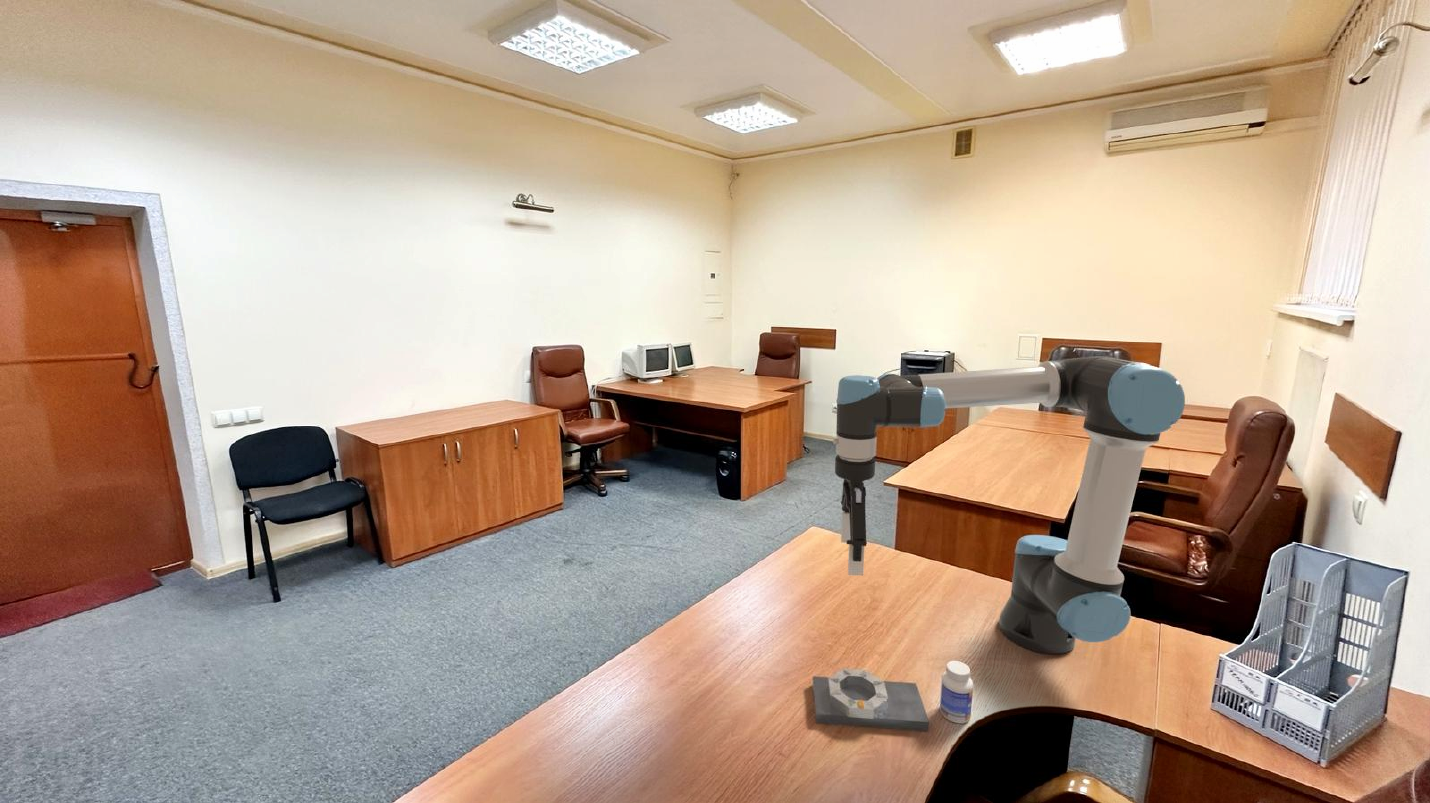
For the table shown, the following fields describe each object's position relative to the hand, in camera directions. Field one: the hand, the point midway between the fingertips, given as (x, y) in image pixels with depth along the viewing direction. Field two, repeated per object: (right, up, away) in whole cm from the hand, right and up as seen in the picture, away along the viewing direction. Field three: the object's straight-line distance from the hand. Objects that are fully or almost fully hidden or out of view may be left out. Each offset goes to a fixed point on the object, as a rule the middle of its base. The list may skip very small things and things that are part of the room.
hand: (851, 557), depth 112 cm
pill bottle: (+17, -27, -8) cm, 33 cm away
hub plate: (+2, -27, -6) cm, 28 cm away
